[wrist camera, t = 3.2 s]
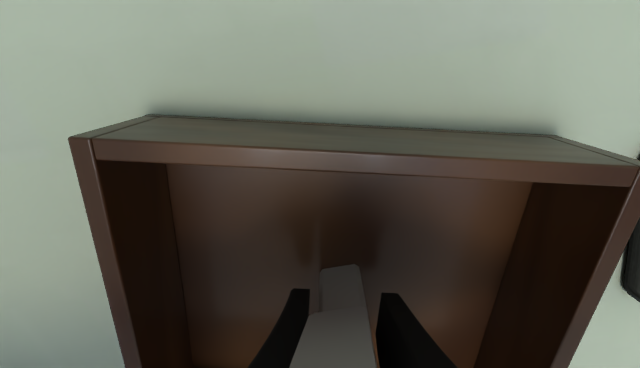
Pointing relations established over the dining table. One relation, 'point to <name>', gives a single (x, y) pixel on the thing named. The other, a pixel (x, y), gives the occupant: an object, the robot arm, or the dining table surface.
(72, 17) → the dining table surface
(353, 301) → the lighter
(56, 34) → the dining table surface
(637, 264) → the phone
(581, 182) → the tray
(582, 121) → the dining table surface
